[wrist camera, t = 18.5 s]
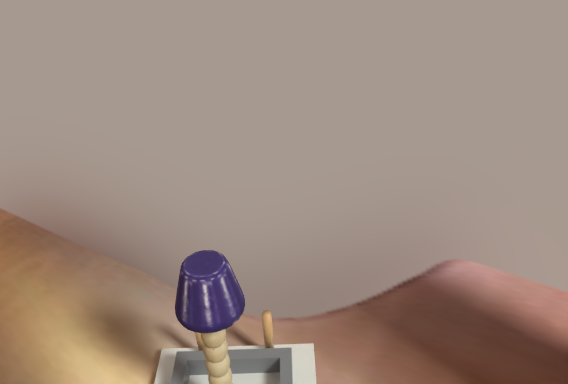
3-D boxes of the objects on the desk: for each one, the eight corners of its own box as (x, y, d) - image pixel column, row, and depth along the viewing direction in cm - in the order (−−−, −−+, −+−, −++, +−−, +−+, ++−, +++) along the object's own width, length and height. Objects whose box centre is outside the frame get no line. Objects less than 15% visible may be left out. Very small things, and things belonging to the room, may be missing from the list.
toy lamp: (196, 400, 44) (163, 248, 34) (251, 386, 45) (232, 234, 35) (204, 454, 40) (169, 299, 31) (263, 438, 41) (247, 282, 32)
